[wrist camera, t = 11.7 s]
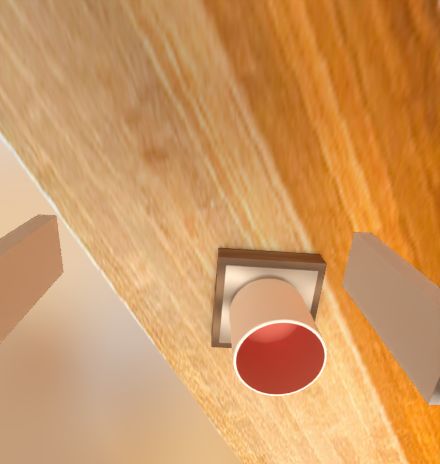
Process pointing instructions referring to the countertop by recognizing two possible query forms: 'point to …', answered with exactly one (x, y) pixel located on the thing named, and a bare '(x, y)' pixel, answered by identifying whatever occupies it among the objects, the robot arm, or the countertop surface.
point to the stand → (262, 267)
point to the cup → (274, 339)
